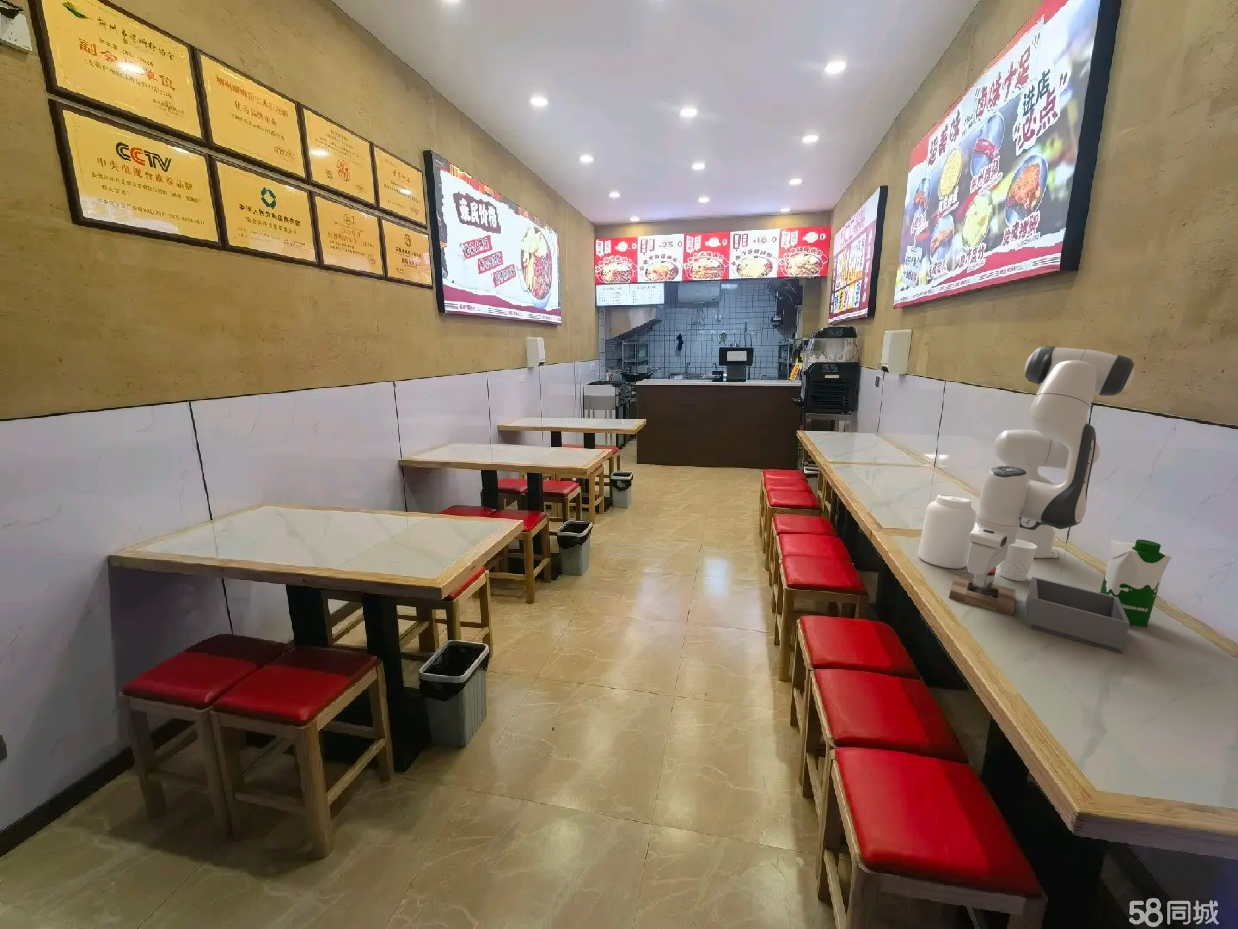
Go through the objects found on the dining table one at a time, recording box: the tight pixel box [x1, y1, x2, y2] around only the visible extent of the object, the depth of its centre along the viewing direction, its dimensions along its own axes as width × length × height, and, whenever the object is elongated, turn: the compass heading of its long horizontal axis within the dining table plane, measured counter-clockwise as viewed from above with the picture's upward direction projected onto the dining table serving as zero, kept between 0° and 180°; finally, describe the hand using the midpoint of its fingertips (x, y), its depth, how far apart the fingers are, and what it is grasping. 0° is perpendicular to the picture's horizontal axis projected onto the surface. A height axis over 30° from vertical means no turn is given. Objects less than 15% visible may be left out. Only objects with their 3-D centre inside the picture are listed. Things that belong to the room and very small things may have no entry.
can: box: [917, 493, 977, 570], centre depth 152 cm, size 12×12×20 cm
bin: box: [1025, 576, 1131, 655], centre depth 118 cm, size 16×16×7 cm
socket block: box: [948, 573, 1016, 617], centre depth 131 cm, size 13×13×2 cm
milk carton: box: [1099, 539, 1172, 628], centre depth 122 cm, size 9×9×20 cm
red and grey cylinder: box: [970, 567, 997, 597], centre depth 130 cm, size 4×4×8 cm
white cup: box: [996, 539, 1037, 582], centre depth 144 cm, size 8×8×10 cm
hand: (983, 582), depth 130 cm, fingers closed on red and grey cylinder, 4 cm apart
